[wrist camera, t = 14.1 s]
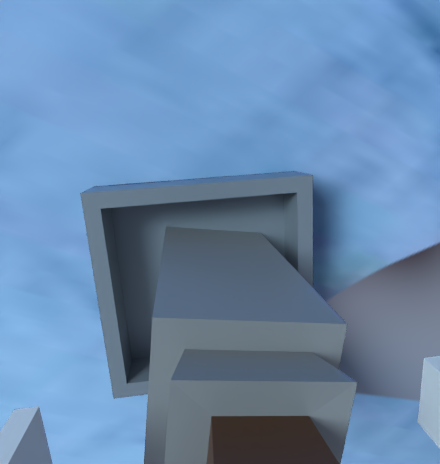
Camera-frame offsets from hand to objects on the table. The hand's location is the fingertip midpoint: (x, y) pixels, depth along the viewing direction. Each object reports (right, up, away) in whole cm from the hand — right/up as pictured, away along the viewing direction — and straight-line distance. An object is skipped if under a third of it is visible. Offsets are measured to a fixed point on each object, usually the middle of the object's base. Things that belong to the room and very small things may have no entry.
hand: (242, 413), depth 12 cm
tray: (-2, +3, +14) cm, 15 cm away
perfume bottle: (-2, +3, +14) cm, 14 cm away
